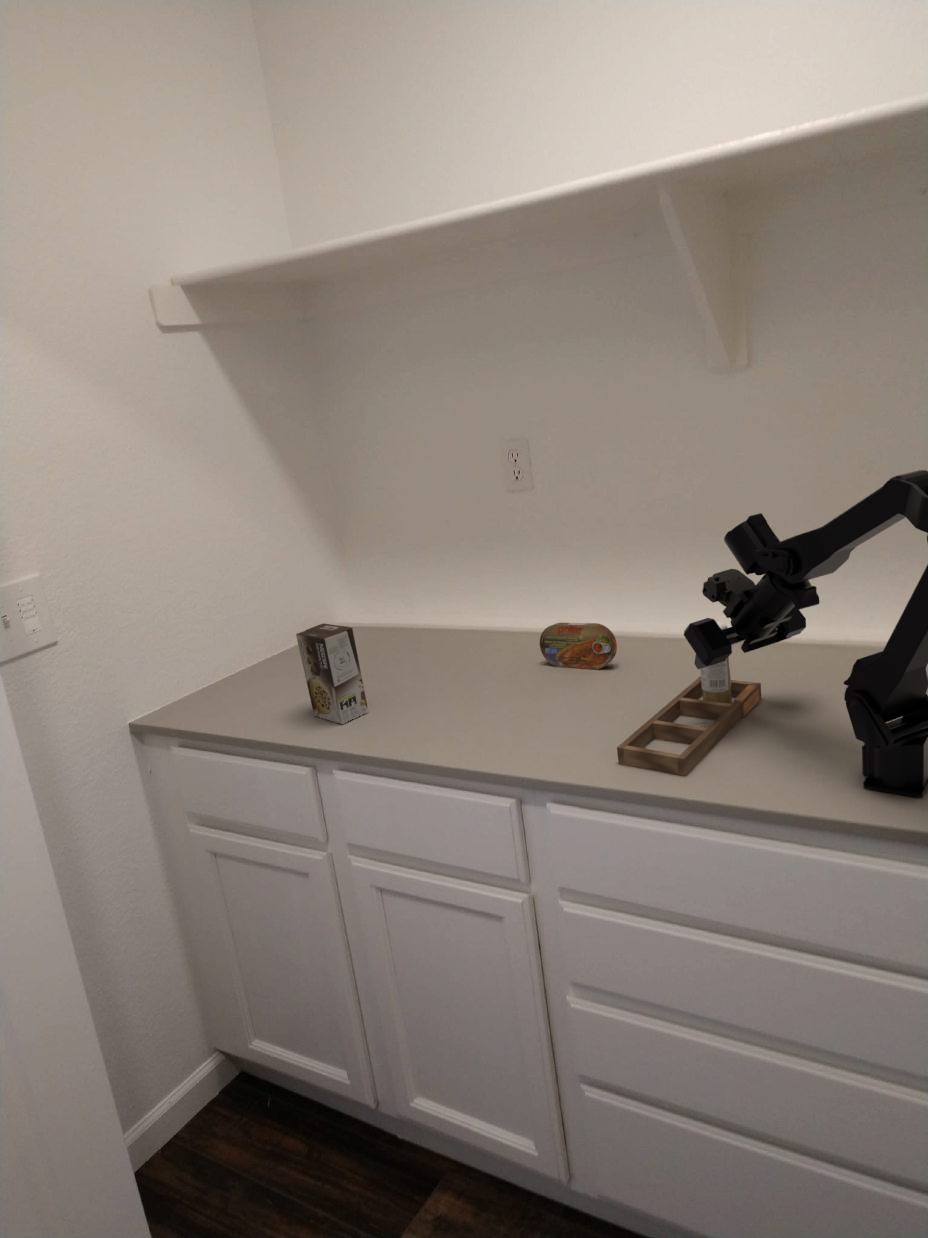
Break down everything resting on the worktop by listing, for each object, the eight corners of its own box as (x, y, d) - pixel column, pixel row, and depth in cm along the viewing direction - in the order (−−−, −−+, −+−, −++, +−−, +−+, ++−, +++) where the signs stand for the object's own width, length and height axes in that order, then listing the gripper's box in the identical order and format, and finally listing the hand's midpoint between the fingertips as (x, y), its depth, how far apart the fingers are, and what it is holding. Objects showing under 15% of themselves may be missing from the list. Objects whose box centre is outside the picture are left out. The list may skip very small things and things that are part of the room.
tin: (541, 666, 163) (536, 624, 160) (549, 660, 165) (543, 619, 163) (614, 671, 154) (609, 627, 152) (621, 665, 157) (616, 621, 154)
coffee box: (370, 712, 153) (354, 627, 148) (341, 725, 148) (324, 638, 144) (340, 703, 159) (323, 621, 155) (312, 716, 155) (294, 632, 151)
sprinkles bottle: (735, 702, 133) (729, 620, 130) (729, 713, 129) (724, 630, 126) (705, 700, 135) (699, 620, 132) (699, 712, 132) (693, 629, 128)
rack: (764, 698, 133) (763, 681, 132) (688, 776, 113) (686, 757, 112) (700, 690, 140) (699, 674, 139) (618, 763, 119) (616, 745, 118)
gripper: (786, 541, 124) (737, 601, 137) (686, 570, 117) (644, 631, 129) (833, 601, 119) (777, 658, 132) (731, 635, 112) (683, 692, 124)
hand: (720, 658), depth 129 cm, fingers open, 9 cm apart
